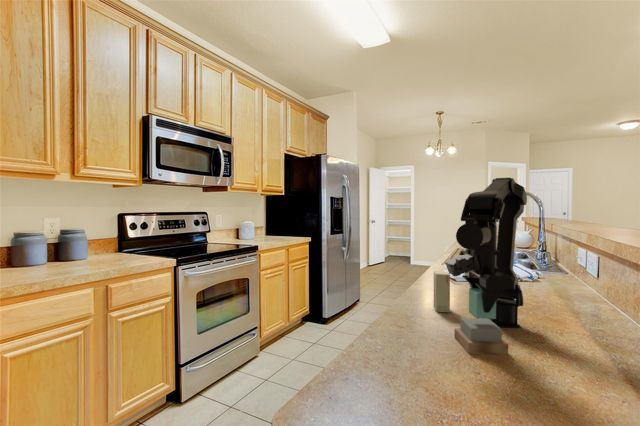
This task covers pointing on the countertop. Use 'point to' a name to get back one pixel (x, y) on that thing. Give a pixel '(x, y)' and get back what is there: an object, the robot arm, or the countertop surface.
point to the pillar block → (479, 305)
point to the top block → (481, 330)
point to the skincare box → (441, 291)
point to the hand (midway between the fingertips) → (482, 309)
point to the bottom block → (480, 345)
